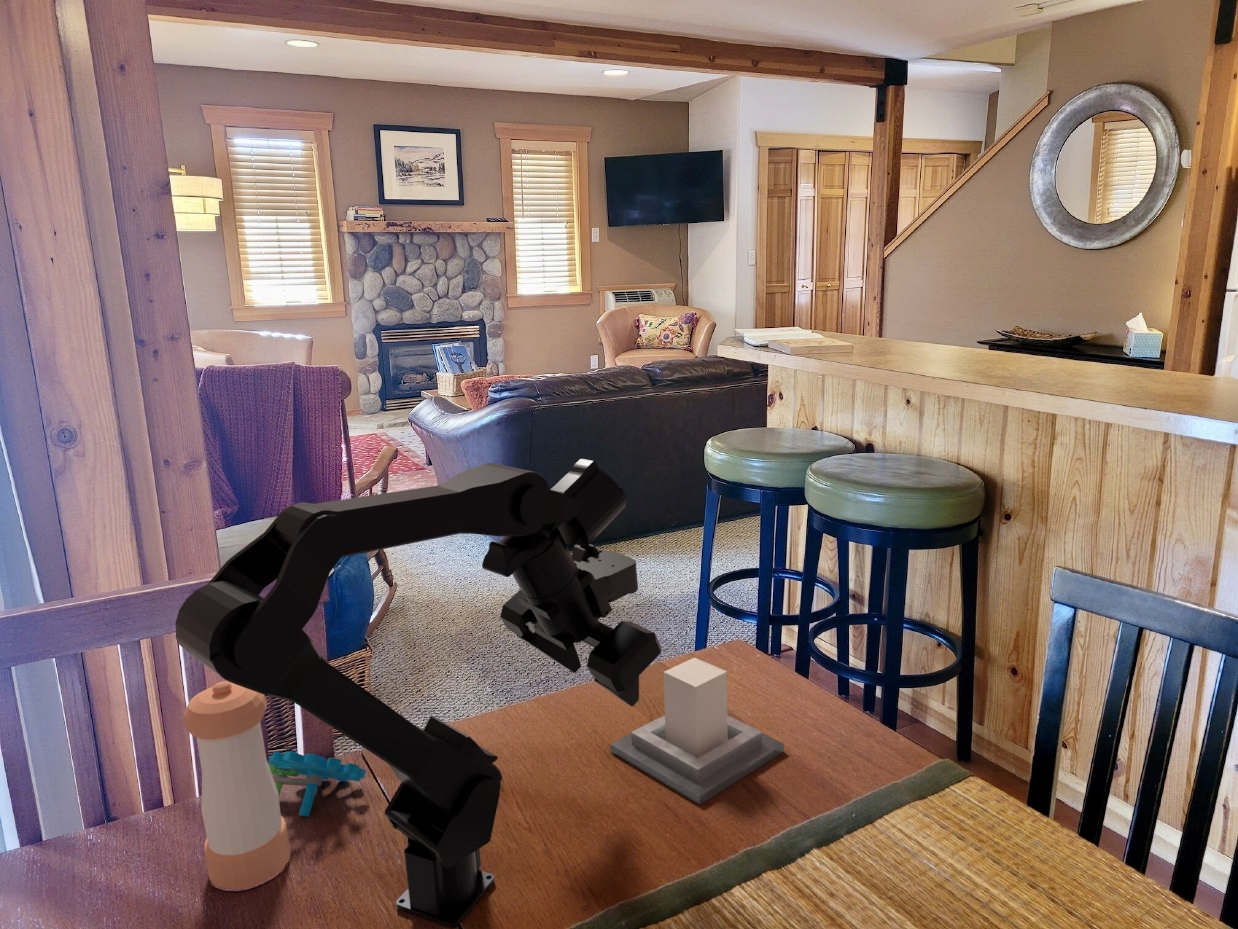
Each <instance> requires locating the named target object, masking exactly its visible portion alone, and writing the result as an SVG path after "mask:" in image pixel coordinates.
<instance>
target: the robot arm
mask: <svg viewBox="0 0 1238 929" xmlns="http://www.w3.org/2000/svg"><path fill="white" fill-rule="evenodd" d="M626 506H627V496H626V494H625V491H624V489H623V487H621V486H619V485H618V484H617V482H616V481H615V480H614V479H613V478H612V477H611V476H610V475H609V474H608V473H606V472H605V471H603V470H601V469H600V468H599V466H598V463H597V461H596V460H590V459H585V458H579V460H578V461H577V462H576V463H574V465H572V467H571V469H570V470H569V471H568V473H566V474H565V475H564V476H563V477H562V478H561V479H560V480H559V481H558V482H557V483H556V484H555V485H554V486H553V487H552V488H550V486H549V484H548V481H546V479H545V478H544V476H543V474H541V473H540V472H537V471H532V470H527V469H524V468H523V469H522V468H518V467H513V466H512V467H511V466H507V465H503V464H498V463H490V462H487V463H484V464H480V465H478V466H475V467H472V468H469V469H466V470H463V471H460V472H458V473H457V474H455V475H454V476H453V477H452V478H450V479H448V480H447V481H445V482H441V483H439V484H437V485H432V486H426V487H418V488H412V489H405V490H398V491H393V492H392V491H391V492H384V493H377V494H371V495H364V496H358V497H352V498H351V497H350V498H346V499H345V498H344V499H339V500H332V501H331V500H330V501H324V502H318V503H310V502H298V503H295V504H292V505H289V506H287V507H286V508H285V509H283V510H282V511H281V512H280V513H279V514H278V515H277V516H276V518H275V519H274V520H273V521H272V522H271V524H270V525H269V526H268V527H267V529H266V530H265V531H264V532H263V533H261V534H260V535H259V536H258V537H256V538H255V539H253V540H252V541H251V542H249V543H248V544H247V545H246V546H244V547H243V548H241V549H240V550H239V551H238V552H236V553H235V554H234V555H232V556H231V557H230V558H228V560H226V562H225V563H224V564H222V566H221V567H220V569H219V570H218V571H217V572H216V573H215V575H214V576H212V578H211V580H209V581H208V582H207V584H204V585H203V586H200V587H199V588H196V590H194V591H193V592H192V593H191V594H190V595H189V596H188V597H187V598H185V600H184V602H183V604H182V605H181V607H180V608H179V609H178V613H177V615H176V620H175V624H174V625H175V639H176V642H177V643H178V645H179V646H180V647H181V648H182V649H183V650H184V651H186V652H187V654H189V655H191V657H193V658H195V659H196V660H197V661H199V662H200V663H202V664H203V665H204V666H206V667H207V668H209V669H210V670H211V671H212V672H214V673H215V674H217V675H218V676H220V677H221V678H222V679H224V681H228V682H231V683H234V684H236V685H239V686H242V687H245V688H247V689H250V690H253V691H255V692H258V693H261V694H264V696H266V697H271V698H276V699H280V700H284V701H285V700H286V701H289V702H291V703H295V704H296V705H297V706H299V707H301V708H302V709H304V710H305V711H307V712H308V713H310V714H311V715H312V716H314V717H316V718H317V719H319V720H321V722H324V723H325V724H327V725H328V726H329V727H331V728H333V729H335V730H336V731H338V732H339V733H341V734H342V735H344V736H345V737H347V738H348V739H349V740H351V741H352V742H354V743H356V744H358V745H359V746H360V747H362V748H363V749H365V750H367V751H368V752H370V753H371V754H373V755H375V756H376V757H377V758H379V759H381V760H382V761H384V762H385V763H387V765H389V767H390V769H391V770H392V771H393V773H394V775H395V777H396V778H397V779H398V780H399V781H400V784H399V786H398V788H397V789H396V791H395V793H394V795H393V796H392V798H391V799H390V801H389V803H388V805H387V806H386V808H385V810H384V815H385V817H386V819H387V821H388V822H389V824H390V826H391V827H392V828H394V829H395V830H398V831H399V832H400V833H402V834H403V835H404V836H406V837H407V847H405V849H404V851H403V852H404V853H403V854H404V862H405V863H404V864H405V871H406V880H407V882H406V883H407V889H406V890H405V891H404V892H403V893H402V894H401V895H400V896H399V897H398V898H397V899H396V902H395V904H396V909H398V910H402V911H404V912H407V913H409V914H412V915H415V916H418V917H421V918H424V919H425V920H430V921H432V922H435V923H437V924H438V923H439V924H440V925H444V926H447V927H450V928H455V927H457V926H458V925H459V924H460V923H461V922H462V921H463V920H464V918H465V917H466V916H467V915H468V914H469V912H470V911H471V910H472V909H473V908H474V906H476V904H477V903H478V902H479V901H480V899H482V897H483V896H484V895H485V893H486V892H488V890H489V888H490V887H491V886H492V885H493V884H494V882H495V875H494V874H493V873H490V872H488V871H487V872H486V871H484V870H481V866H482V864H481V863H482V862H481V851H480V849H481V848H483V847H484V846H485V845H487V844H488V843H490V841H491V838H492V835H493V834H492V833H493V829H494V824H495V819H496V814H497V810H498V806H499V805H498V804H499V801H500V795H501V793H500V792H501V788H502V786H501V784H502V783H501V782H502V780H503V774H502V772H501V770H500V768H499V767H498V765H495V764H494V763H495V762H496V761H497V760H498V759H499V756H498V755H496V754H494V753H492V752H491V751H489V750H487V749H485V748H484V747H482V746H480V745H479V744H478V743H477V742H476V741H475V740H474V739H473V738H472V737H471V736H469V735H467V734H466V733H464V732H462V731H460V730H458V729H457V728H455V727H454V726H451V725H449V724H448V723H447V722H444V721H443V720H440V719H439V718H437V717H436V716H434V715H432V714H431V715H430V717H429V718H428V721H427V723H426V724H425V727H424V728H423V727H422V728H421V727H418V726H417V725H416V724H414V723H412V722H411V721H410V720H408V719H407V718H406V717H405V716H403V715H401V714H400V713H398V712H397V711H396V710H394V709H393V708H392V707H390V706H389V705H387V704H386V703H385V702H383V701H382V700H380V698H378V697H376V696H375V695H374V694H372V693H371V692H369V691H368V690H367V689H365V688H364V687H362V686H361V685H359V684H358V683H357V682H355V681H354V680H352V679H351V678H349V677H348V676H347V675H346V674H344V673H342V672H341V671H340V670H338V669H337V668H336V667H334V666H333V665H332V664H330V663H329V662H327V661H326V660H325V659H324V658H323V656H321V654H320V652H319V650H318V648H317V647H316V646H315V644H314V642H313V641H312V638H310V636H309V635H308V634H307V633H306V632H305V631H304V628H305V627H306V625H307V623H309V621H310V620H311V618H313V616H314V615H315V612H316V611H317V608H318V606H319V602H320V600H321V597H322V595H323V591H324V589H325V586H326V584H327V581H328V578H329V576H330V573H331V571H332V570H333V569H334V567H336V565H337V564H338V562H339V561H340V560H341V559H342V558H347V557H350V556H355V555H360V554H366V553H371V552H376V551H380V550H384V549H385V550H386V549H390V548H396V547H400V546H405V545H409V544H410V545H411V544H415V543H420V542H421V543H422V542H425V541H430V540H435V539H441V538H444V537H449V536H455V535H460V534H465V535H466V534H467V535H468V534H470V535H481V536H491V537H503V538H502V539H501V540H499V541H493V540H492V541H490V542H489V546H488V550H487V552H486V554H485V556H484V557H483V561H482V564H481V568H482V569H484V570H485V571H488V572H492V573H493V574H496V575H501V576H503V577H506V578H509V577H511V576H513V579H514V580H515V582H516V583H517V585H518V587H519V590H518V591H517V592H516V593H515V594H513V596H512V597H511V598H509V599H508V600H507V601H506V602H505V603H504V604H503V605H502V607H501V613H500V619H501V621H502V622H503V624H504V626H505V628H506V629H507V630H508V631H510V632H512V633H513V634H515V635H516V637H517V638H519V639H521V640H523V641H524V642H526V643H527V644H529V646H532V647H533V648H535V649H536V650H538V651H539V652H541V653H543V654H544V655H546V656H547V657H548V658H550V659H551V660H553V661H555V662H556V663H558V664H559V665H560V666H562V667H564V668H565V669H567V670H569V671H570V672H572V673H573V674H575V673H577V672H578V671H579V670H580V669H581V667H582V664H581V661H580V657H579V654H578V651H577V648H576V646H575V644H580V642H583V643H585V644H587V645H588V646H591V647H593V649H592V650H590V651H589V655H588V657H587V658H588V660H587V664H586V667H587V669H588V671H589V672H590V673H589V674H591V675H592V677H593V678H594V679H593V681H594V682H595V683H597V685H599V686H601V687H602V688H604V689H605V690H607V691H608V693H609V692H610V693H611V694H612V695H614V696H615V697H617V698H618V699H619V700H621V701H622V702H624V703H625V704H627V706H630V707H634V706H635V705H636V704H637V703H638V702H639V701H640V675H641V674H642V673H644V671H645V670H646V669H647V668H648V667H649V666H650V665H651V664H652V663H653V662H654V661H655V660H656V659H657V657H658V656H660V654H661V653H662V645H661V644H660V641H659V639H658V637H657V634H656V633H655V632H654V631H652V630H649V629H648V628H645V627H643V626H641V625H639V624H638V623H635V622H632V621H627V620H626V621H625V620H621V621H620V622H619V623H618V624H617V625H615V627H614V628H613V627H611V626H609V625H606V624H605V623H603V622H601V621H599V619H600V618H602V619H605V618H606V617H607V616H608V615H609V614H610V613H611V612H612V611H613V608H612V605H611V604H610V603H613V602H615V601H617V600H619V599H622V598H623V597H624V596H627V595H628V594H631V595H633V594H635V593H636V592H638V590H639V582H638V573H637V572H638V571H637V569H638V568H637V560H635V559H634V558H632V557H630V556H628V555H627V556H626V555H625V554H621V553H619V552H616V551H614V550H605V549H603V548H600V549H597V547H596V546H595V545H593V544H591V543H592V542H593V541H594V540H595V539H596V538H597V537H598V536H599V535H600V534H601V533H602V532H603V531H604V530H605V529H606V528H607V526H608V525H609V524H610V523H612V521H613V520H614V519H615V518H616V517H617V516H618V515H619V514H620V513H621V512H622V511H623V510H624V509H625V508H626ZM568 546H573V548H572V553H571V552H570V550H569V548H568ZM273 582H275V583H274V585H273V586H272V587H271V589H270V590H269V592H268V593H266V595H265V596H264V597H263V596H261V595H260V594H261V593H262V592H263V591H264V590H265V588H267V587H268V586H269V585H271V584H273Z"/></svg>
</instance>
